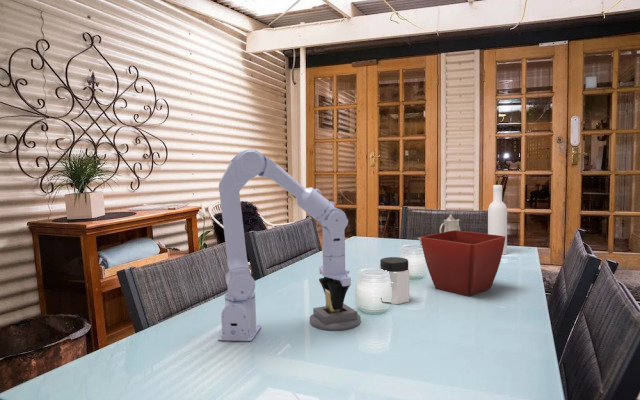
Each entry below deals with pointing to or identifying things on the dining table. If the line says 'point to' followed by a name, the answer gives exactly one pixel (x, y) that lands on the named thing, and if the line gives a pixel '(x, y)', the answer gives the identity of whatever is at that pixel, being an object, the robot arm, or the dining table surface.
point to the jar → (397, 278)
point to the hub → (335, 319)
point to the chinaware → (448, 225)
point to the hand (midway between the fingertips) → (334, 307)
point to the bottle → (498, 216)
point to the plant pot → (463, 260)
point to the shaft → (330, 303)
